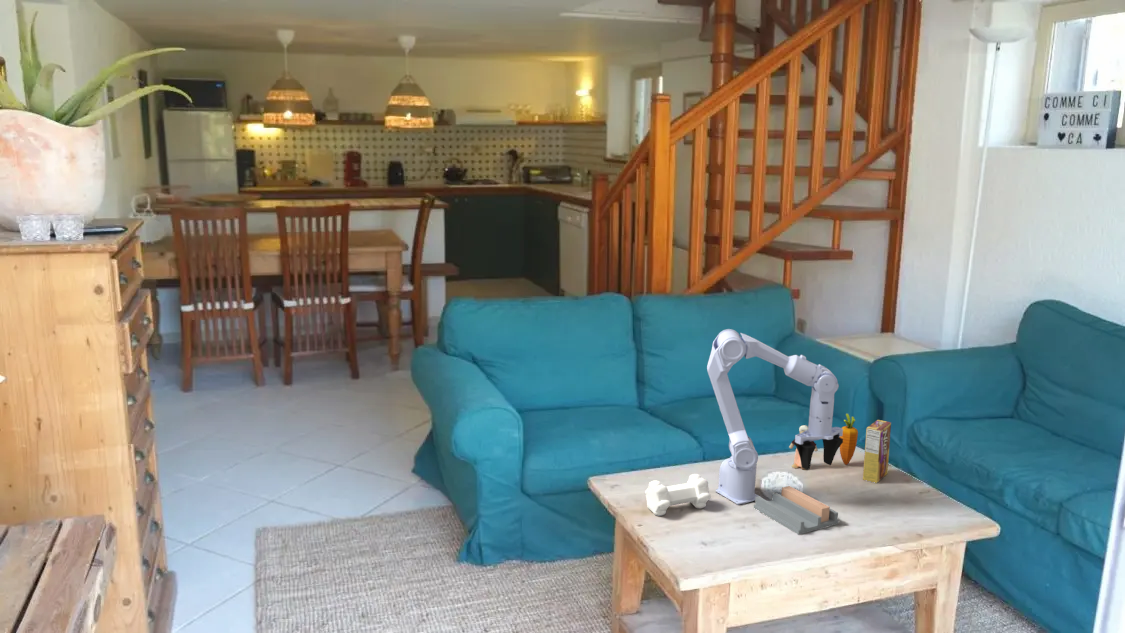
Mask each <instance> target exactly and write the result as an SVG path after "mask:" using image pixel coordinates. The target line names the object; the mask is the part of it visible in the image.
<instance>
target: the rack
mask: <svg viewBox="0 0 1125 633" xmlns="http://www.w3.org/2000/svg"><path fill="white" fill-rule="evenodd" d="M771 495H772V497H771V500H766V499H765V498H763V497H762V496H760V495H758V497H756V501H754V502H755V504H753V509H754V508H755V509H754V510H756V509H757V510H759V511H760V512H759V511H758V512H759V513H761V512H762V513H764V514H765V515H764V514H763V515H764V516H766V515H767V516H766V517H768V518H769V517H770V519H771V518H772V519H771V520H772V521H774V520H775V521H774V522H776V523H778V524H780V526H783V527H785V528H786V529H788V530H790V531H792V532H794V534H797V535H801V534H805V533H809V532H813V531H816V530H817V531H818V530H821V529H824V528H827V527H831V526H836V525H839V524H840V522H839V521H840V519H839V517H838V516H839V512H837V511H836V510H834V509H832V508H830V510H829V520H828V521H824V522H821V517H820V516H818V515H817V514H815V513H813V512H811V511H809V510H807V509H806V508H804V507H802V506H800V505H798V504H796V503H794V502H793V501H791V500H789V499H787V498H785V497H783V496H782V495H781V494H780V493H777V492H772V494H771ZM759 496H760V497H759ZM761 497H762V498H761ZM757 510H756V511H757ZM762 513H761V514H762Z"/></svg>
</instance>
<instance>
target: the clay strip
mask: <svg viewBox="0 0 1125 633" xmlns="http://www.w3.org/2000/svg"><path fill="white" fill-rule="evenodd" d="M780 495H782V496H783V497H785V498H787V499H789V500H791V501H793V502H794V503H796V504H798V505H800V506H802V507H804V508H806V509H807V510H809V511H811V512H813V513H815V514H817V515H818V516H820V517H821V522H824V521H828V520H829V510H830V509H831V508H830V507H831V506H829V505H827V504H824V503H823V502H822V501H819V500H817V499H815V498H813V497H812V496H809V495H807V494H806V493H804V492H802V491H800V490H798V489H796V488H795V487H792V486H791V485H788V486H787V485H786V486H783V487H781V494H780Z"/></svg>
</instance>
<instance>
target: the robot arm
mask: <svg viewBox="0 0 1125 633" xmlns="http://www.w3.org/2000/svg"><path fill="white" fill-rule="evenodd" d="M755 357H756V358H759V359H762V360H764V361H766V362H768V363H771V364H773V365H776V366H778V367H780V368H783V371H784V374H785V376H787V377H788V378H791V379H793V380H795V381H797V382H799V383H802V384H803V385H805V386H807V387H811V394H810V395H811V396H810V401H809V402H810V403H809V415H808V425H807V426H808V430H806V431H804V432H802V433H801V434H800V433H798V434H795V436H794V437H795V438H794V439H795V441H794V444H795V445H794V447H796V448H797V450H798V452H799V455H800V460H801V465H802V468H804V469H806V470H805V471H809V470H810V468H811V464H812V457H813V454H814V452H815V451H814V450H815V448H816V447H815V446H813V445H811V443H810V441H814V442H815V441H820V440H822V445H823V456H822V458H823V463H824V464H826V465H829V466H831V465H832V463H833V461H834V458H835V456H836V454H837V452H838V450H839V449H840V445H841V444H842V443H843V439H842V438H840V436H842V435H843V429H842V427H839V426H834V427H833V416H834V408H835V407H834V404H835V393H836V392H837V391H838V390H839V385H840V384H839V383H838V382H839V381H838V379H837V377H836V375H835V374H834V373H833V372H832V371H831V370H830V369H828V368H827V367H826V366H824V365H822V364H820V363H819V364H816V363H814V362H811V361H809V360H807V357H806V356H805V355H804V354H800V355H798V354H793V355H789V356H788V355H786V354H784V353H782V352H781V351H779V350H777V349H775V348H773V347H771V346H769V345H768V344H765V343H763V342H761V341H760V340H758V339H756V338H754V337H751V336H750V335H747V334H746V333H742V332H740V334H739V332H737V331H736V330H734V329H732V328H731V329H730V328H727V329H723V330H722V331H720V332H718V334H717V336H716V337H715V339H714V340H713V342H712V347H711V351H710V355H709V358H708V361H707V366H706V369H707V370H706V371H707V374H708V377H709V380H710V383H711V386H712V389H713V392H714V395H715V398H716V401H717V404H718V406H719V407H718V408H719V411H720V413H721V416H722V418H723V423H724V425H725V428H726V431H727V434H728V436H729V437H728V438H729V442H728V449H729V451H730V453H731V456H730V457H729V458H726V459H724V460H723V461H722V463H721V464H720V466H719V470H718V471H719V472H718V473H719V474H718V486H717V487H718V488H716V489H715V492H716V493H717V494H719V495H721V496H723V497H725V498H726V499H728V500H730V501H731V502H733V503H734V504H736V505H742V504H747V503H752V502H756V497H758V496H759V497H761V498H763V497H762V496H760V495H758V494H756V480H757V478H756V477H757V465H758V461H759V454H758V452H757V450H756V448H755V446H754V443H753V442H754V441H753V440H752V438H751V437H750V436H749V435H748V434H747V430H746V427H745V425H744V422H743V421H744V420H743V419H742V416H741V412H740V409H739V406H738V403H737V400H736V397H735V394H734V391H733V388H732V385H731V382H730V379H729V375H728V373H729V372H730V370H731V368H732V367H733V365H735V364H737V363H738V362H739V361H740V360H741V359H743V358H745V359H747V360H748V359H751V358H755ZM804 469H803V470H804Z"/></svg>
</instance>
